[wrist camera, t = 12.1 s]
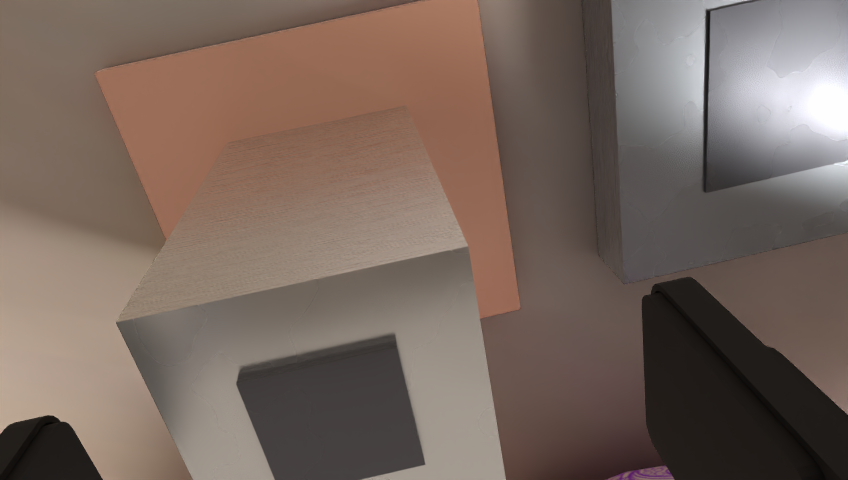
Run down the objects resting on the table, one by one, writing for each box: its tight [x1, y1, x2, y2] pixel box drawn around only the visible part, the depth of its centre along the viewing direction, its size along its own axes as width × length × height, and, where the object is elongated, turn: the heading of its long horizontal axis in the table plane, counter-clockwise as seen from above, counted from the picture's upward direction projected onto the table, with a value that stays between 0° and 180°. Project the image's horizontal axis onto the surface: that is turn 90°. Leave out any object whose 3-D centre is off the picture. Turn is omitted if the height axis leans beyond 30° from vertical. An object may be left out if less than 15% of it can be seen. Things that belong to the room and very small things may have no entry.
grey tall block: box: [116, 105, 506, 480], centre depth 13 cm, size 5×5×9 cm
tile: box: [94, 0, 520, 319], centre depth 18 cm, size 10×10×1 cm
